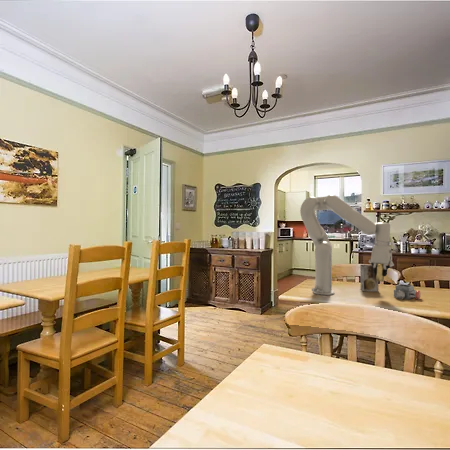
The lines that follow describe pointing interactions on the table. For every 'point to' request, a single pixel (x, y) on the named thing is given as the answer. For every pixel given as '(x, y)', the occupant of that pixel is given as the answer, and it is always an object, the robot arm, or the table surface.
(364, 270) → the coffee box
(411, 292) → the valve body
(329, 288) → the robot arm
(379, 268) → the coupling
